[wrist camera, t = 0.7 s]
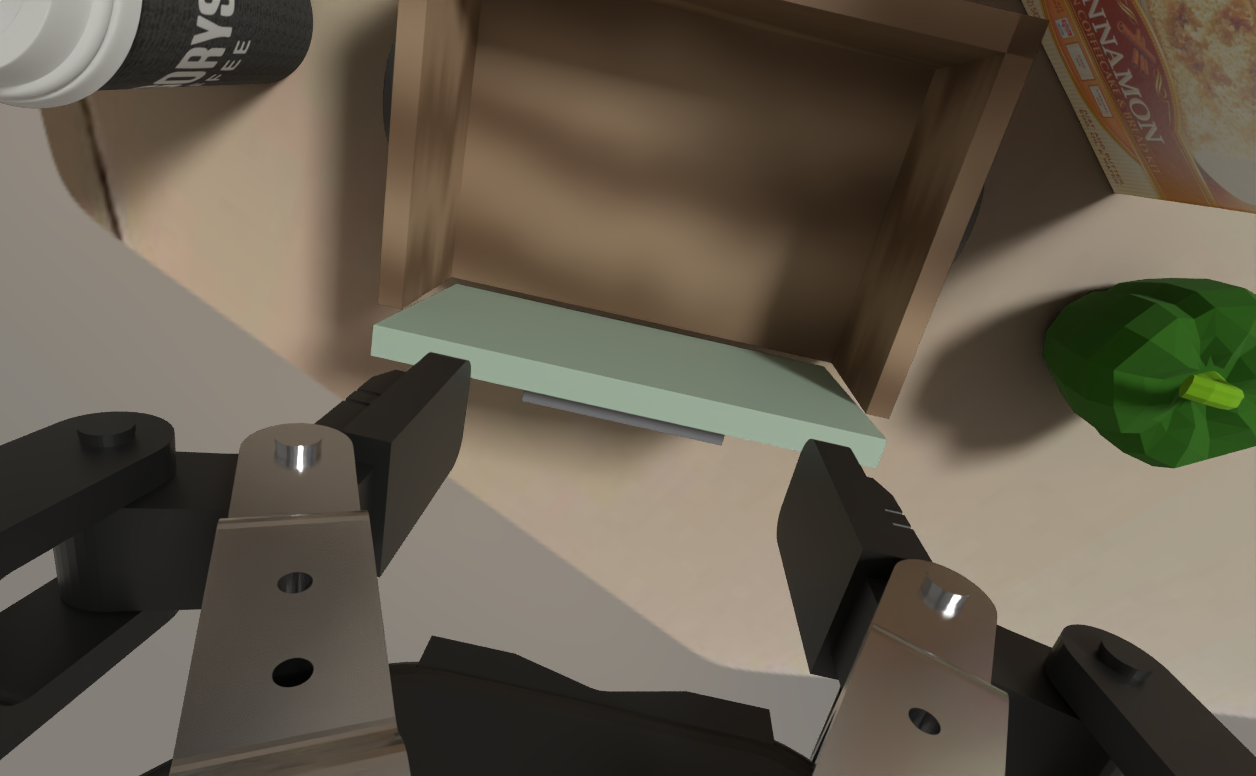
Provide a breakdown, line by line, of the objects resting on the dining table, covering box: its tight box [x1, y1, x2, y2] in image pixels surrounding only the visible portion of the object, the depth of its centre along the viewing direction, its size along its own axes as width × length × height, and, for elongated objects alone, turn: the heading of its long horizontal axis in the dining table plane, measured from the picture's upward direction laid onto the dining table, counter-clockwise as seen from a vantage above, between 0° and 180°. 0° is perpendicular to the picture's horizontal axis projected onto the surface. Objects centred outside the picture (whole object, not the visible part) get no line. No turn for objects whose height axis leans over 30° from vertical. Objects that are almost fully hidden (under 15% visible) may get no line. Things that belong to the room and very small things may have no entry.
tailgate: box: [371, 284, 887, 468], centre depth 29 cm, size 2×19×10 cm, turn 78°
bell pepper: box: [1042, 278, 1256, 468], centre depth 30 cm, size 8×8×10 cm
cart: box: [378, 0, 1050, 419], centre depth 29 cm, size 15×25×9 cm, turn 78°
